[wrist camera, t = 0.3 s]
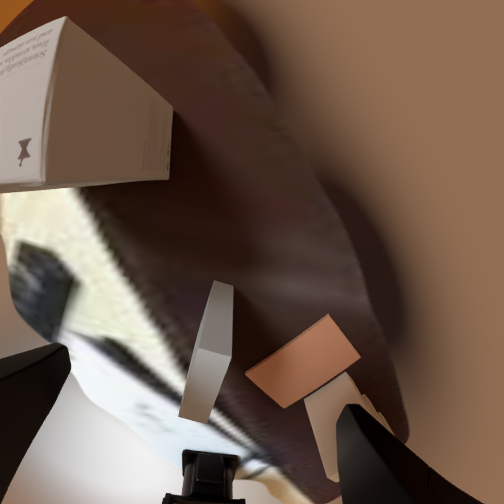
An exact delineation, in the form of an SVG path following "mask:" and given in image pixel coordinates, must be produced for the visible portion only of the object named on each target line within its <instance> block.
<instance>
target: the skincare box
mask: <svg viewBox="0 0 504 504" xmlns="http://www.w3.org/2000/svg"><path fill="white" fill-rule="evenodd" d="M172 118H173V107H172V106H171V105H170V104H169V103H168V102H167V101H166V100H165V99H163V98H162V97H161V96H160V95H159V94H158V93H157V92H156V91H154V90H153V89H152V88H151V87H150V86H149V85H148V84H147V83H146V82H144V81H143V80H142V79H141V78H140V77H139V76H137V75H136V74H135V73H134V72H133V71H132V70H131V69H129V68H128V67H127V66H126V65H125V64H123V63H122V62H121V61H120V60H119V59H118V58H116V57H115V56H114V55H113V54H111V53H110V52H109V51H108V50H107V49H105V48H104V47H103V46H102V45H100V44H99V43H98V42H97V41H96V40H94V39H93V38H92V37H91V36H89V35H88V34H87V33H86V32H84V31H83V30H82V29H81V28H79V27H78V26H77V25H76V24H74V23H73V22H72V21H70V20H69V18H68V17H67V16H65V17H62V18H59V19H57V20H54V21H52V22H50V23H47V24H45V25H43V26H41V27H39V28H37V29H35V30H33V31H31V32H29V33H27V34H25V35H23V36H21V37H19V38H17V39H15V40H13V41H12V42H10V43H8V44H6V45H5V46H3V47H1V48H0V193H11V192H23V191H36V190H47V189H58V188H70V187H82V186H96V185H105V184H114V183H124V182H134V181H144V180H168V179H169V170H170V149H171V132H172Z"/></svg>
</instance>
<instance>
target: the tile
mask: <svg viewBox="0 0 504 504" xmlns="http://www.w3.org/2000/svg"><path fill="white" fill-rule="evenodd" d="M359 358H361V357H360V355H359V354H358V353H357V351H356V350H355V349H354V347H353V346H352V345H351V343H350V342H349V341H348V339H347V338H346V337H345V335H344V334H343V333H342V331H341V330H340V329H339V327H338V326H337V325H336V323H335V322H334V321H333V319H332V318H331V317H330V316H329V314H327V315H326V316H324V317H323V318H322V319H320V320H319V321H318V322H316V323H315V324H314V325H312V326H311V327H310V328H308V329H307V330H305V331H304V332H303V333H301V334H300V335H299V336H297V337H296V338H294V339H293V340H292V341H290V342H289V343H287V344H286V345H284V346H283V347H282V348H280V349H279V350H277V351H276V352H274V353H273V354H271V355H270V356H268V357H267V358H265V359H264V360H262V361H261V362H259V363H258V364H256V365H255V366H253V367H252V368H250V369H249V370H247V371H246V372H245V375H246V376H247V377H248V378H249V379H251V380H252V381H253V382H254V383H255V384H256V385H257V386H258V387H259V388H261V389H262V390H263V391H264V392H265V393H266V394H267V395H268V396H270V397H271V398H272V399H273V400H274V401H275V402H277V403H278V404H279V405H280V406H281V407H282V408H286V407H288V406H289V405H291V404H293V403H294V402H296V401H298V400H299V399H301V398H302V397H304V396H306V395H307V394H309V393H310V392H312V391H313V390H315V389H317V388H318V387H320V386H321V385H323V384H324V383H326V382H327V381H329V380H330V379H331V378H333V377H334V376H336V375H337V374H339V373H340V372H342V371H343V370H344V369H346V368H347V367H348V366H350V365H351V364H353V363H354V362H355V361H357V360H358V359H359Z"/></svg>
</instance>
